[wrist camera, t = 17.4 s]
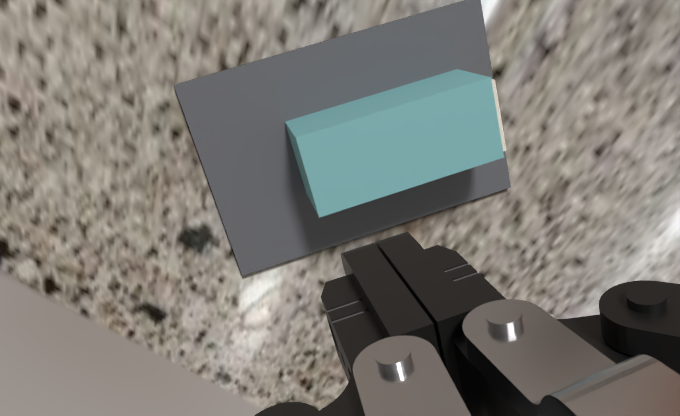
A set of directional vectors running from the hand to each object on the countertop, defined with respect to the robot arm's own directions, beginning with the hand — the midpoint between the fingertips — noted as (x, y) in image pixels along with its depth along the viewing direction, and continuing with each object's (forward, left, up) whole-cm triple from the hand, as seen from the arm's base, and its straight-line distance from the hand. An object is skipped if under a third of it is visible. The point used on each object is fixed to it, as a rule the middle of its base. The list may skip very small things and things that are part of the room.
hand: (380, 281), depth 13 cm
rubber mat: (+4, -3, -23) cm, 24 cm away
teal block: (+1, -3, -21) cm, 21 cm away
